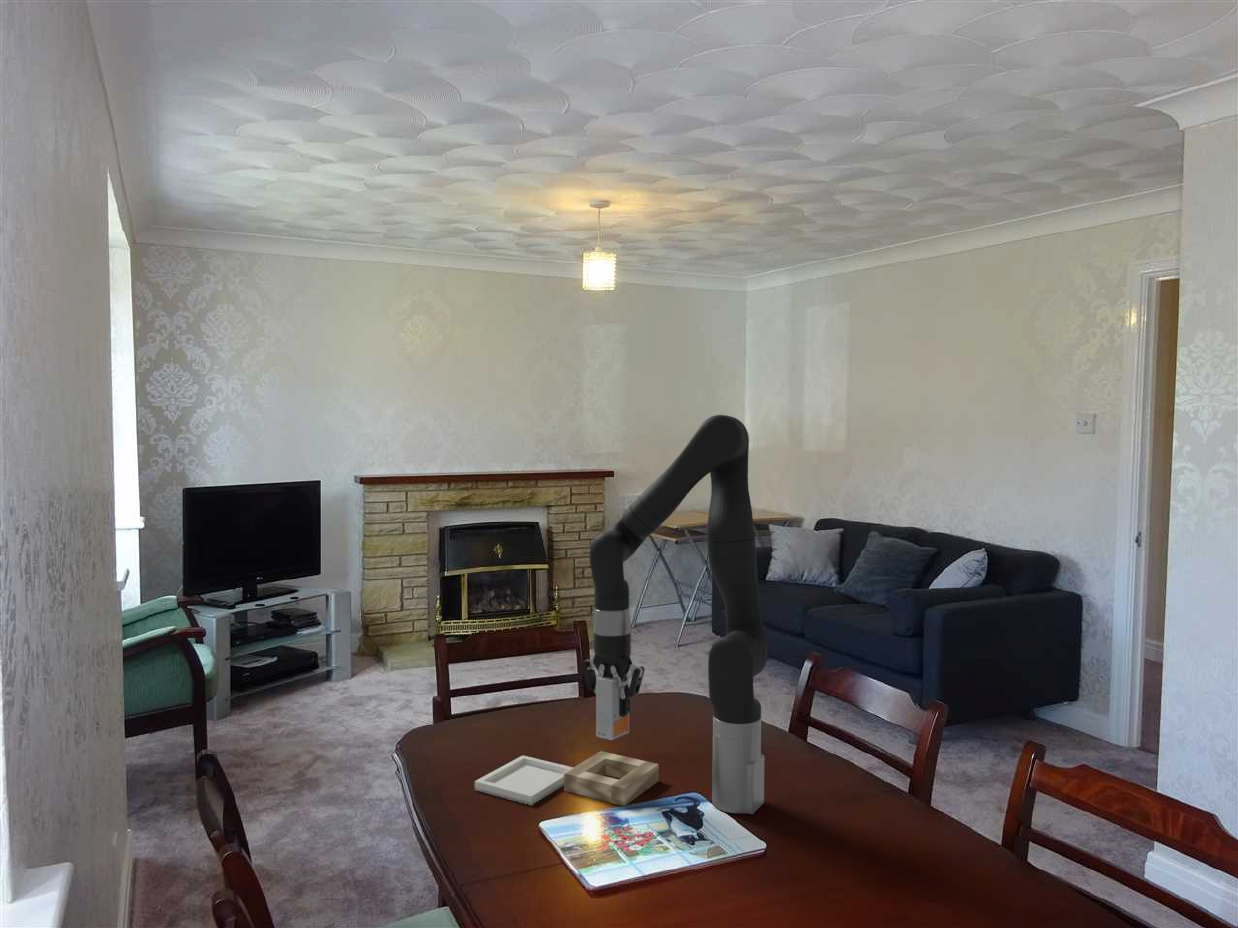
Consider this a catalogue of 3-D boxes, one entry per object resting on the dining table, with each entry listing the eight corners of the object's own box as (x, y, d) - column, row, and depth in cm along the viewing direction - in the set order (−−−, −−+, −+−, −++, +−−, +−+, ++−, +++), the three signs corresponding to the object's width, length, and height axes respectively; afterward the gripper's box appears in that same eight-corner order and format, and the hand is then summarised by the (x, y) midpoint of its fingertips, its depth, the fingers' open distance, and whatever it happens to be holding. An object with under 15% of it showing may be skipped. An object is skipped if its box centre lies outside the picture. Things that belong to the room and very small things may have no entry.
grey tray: (576, 776, 182) (576, 768, 182) (531, 805, 168) (531, 796, 168) (522, 763, 189) (522, 755, 189) (474, 789, 175) (474, 781, 175)
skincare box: (612, 741, 173) (611, 681, 173) (595, 736, 176) (595, 677, 175) (630, 732, 178) (630, 674, 178) (613, 728, 181) (613, 671, 180)
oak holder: (658, 780, 180) (658, 764, 180) (624, 806, 168) (624, 788, 168) (600, 766, 187) (600, 750, 187) (564, 790, 175) (564, 773, 175)
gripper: (652, 630, 176) (652, 714, 176) (591, 622, 183) (592, 703, 184) (634, 637, 169) (634, 724, 170) (572, 629, 176) (573, 713, 177)
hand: (612, 713), depth 177 cm, fingers closed on skincare box, 4 cm apart
